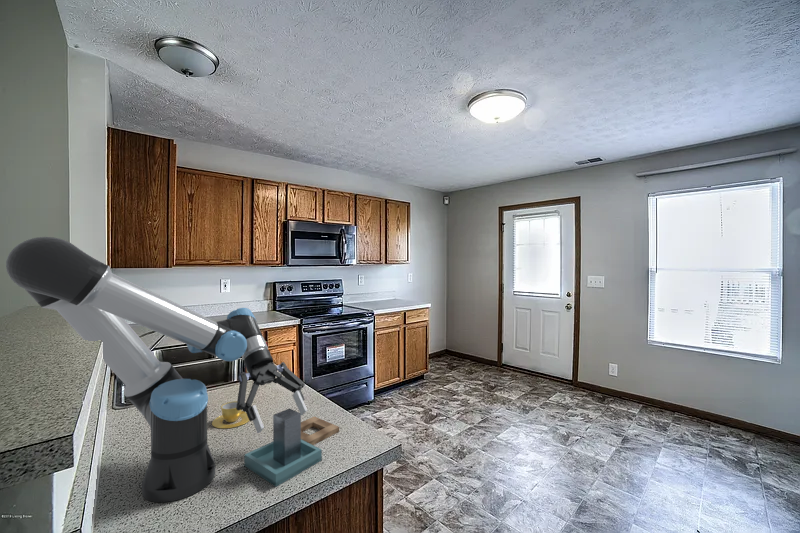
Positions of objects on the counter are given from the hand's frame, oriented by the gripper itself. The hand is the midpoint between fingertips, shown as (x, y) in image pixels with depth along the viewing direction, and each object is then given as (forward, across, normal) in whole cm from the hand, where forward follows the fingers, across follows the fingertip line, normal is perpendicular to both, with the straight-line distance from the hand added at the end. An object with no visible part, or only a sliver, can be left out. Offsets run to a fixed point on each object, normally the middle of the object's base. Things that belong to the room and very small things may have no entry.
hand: (283, 421), depth 98 cm
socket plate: (+4, -13, -10) cm, 17 cm away
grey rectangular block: (+8, +1, -4) cm, 9 cm away
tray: (+9, +2, -5) cm, 10 cm away
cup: (-14, -2, -31) cm, 34 cm away
